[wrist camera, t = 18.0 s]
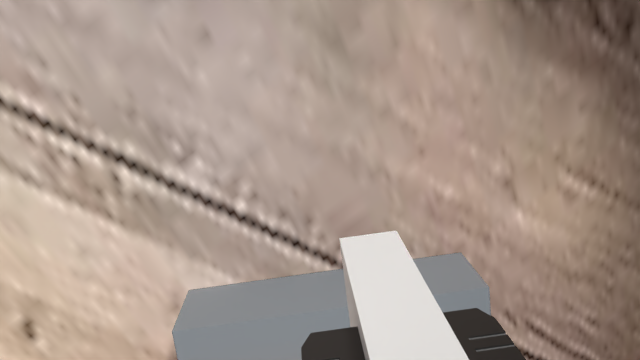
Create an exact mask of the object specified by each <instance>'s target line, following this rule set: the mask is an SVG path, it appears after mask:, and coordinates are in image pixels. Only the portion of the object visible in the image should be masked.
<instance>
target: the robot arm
mask: <svg viewBox="0 0 640 360" xmlns="http://www.w3.org/2000/svg"><path fill="white" fill-rule="evenodd" d="M339 239H340V247H341V255H342V263H343V271H344V279H345V287H346V295H347V303H348V311H349V319H350V327H349V328H342V329H335V330H328V331H321V332H314V333H310V335H309V336H308V338H307V339H306V341H305V342H304V344H303V345H302V347H301V357H302V360H526V359H525V358H524V356H523V355H522V354H521V352H520V351H519V350H518V348H517V347H516V346H514V343H513V342H512V340H511V339H510V338H509V336H508V335H506V333H505V331H504V330H503V328H502V327H501V326H500V324H499V323H498V321H497V320H496V319H495V318H494V317H492V316H490V315H489V314H487V313H485V312H483V311H481V310H480V309H478V308H471V309H464V310H457V311H450V312H442V311H441V309H440V307H439V305H438V304H437V302H436V300H435V298H434V296H433V295H432V293H431V291H430V289H429V288H428V286H427V284H426V282H425V281H424V279H423V277H422V275H421V273H420V272H419V270H418V268H417V266H416V265H415V263H414V261H413V259H412V258H411V256H410V254H409V252H408V250H407V249H406V247H405V245H404V243H403V242H402V240H401V238H400V236H399V234H398V233H397V231H390V232H383V233H376V234H368V235H361V236H354V237H346V238H339Z"/></svg>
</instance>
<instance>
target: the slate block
mask: <svg viewBox="0 0 640 360" xmlns="http://www.w3.org/2000/svg"><path fill="white" fill-rule="evenodd" d="M413 261H414V263H415V265H416V266H417V268H418V270H419V272H420V273H421V275H422V277H423V279H424V281H425V282H426V284H427V286H428V288H429V289H430V291H431V293H432V295H433V296H434V298H435V300H436V302H437V304H438V305H439V307H440V309H441V311H442V312H450V311H457V310H464V309H471V308H478V309H480V310H481V311H483V312H485V313H487V314H489V315H490V316H491V311H490V294H489V286H488V285H487V284H486V283H485V282H484V280H483V279H482V278H481V277H480V275H479V274H478V273H477V272H476V270H475V269H474V268H473V267H472V266H471V264H470V263H469V262H468V261H467V259H466V258H465V257H464V256H463V254H462V253H454V254H447V255H439V256H432V257H425V258H418V259H413ZM349 327H350V319H349V311H348V303H347V295H346V287H345V279H344V271H343V269H339V270H331V271H324V272H317V273H310V274H302V275H295V276H288V277H281V278H274V279H266V280H259V281H252V282H245V283H238V284H230V285H223V286H216V287H209V288H202V289H194V290H189V291H188V294H187V296H186V299H185V301H184V303H183V306H182V308H181V311H180V313H179V316H178V318H177V321H176V323H175V326H174V328H173V330H172V334H173V339H174V344H175V348H176V353H177V358H178V360H302V357H301V347H302V345H303V344H304V342H305V341H306V339H307V338H308V336H309V335H310V333H314V332H321V331H328V330H335V329H342V328H349Z"/></svg>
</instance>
